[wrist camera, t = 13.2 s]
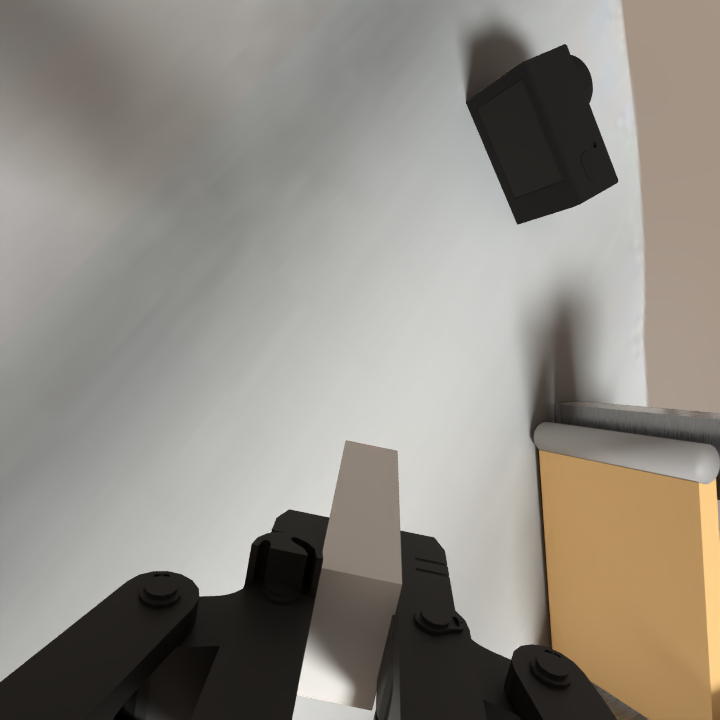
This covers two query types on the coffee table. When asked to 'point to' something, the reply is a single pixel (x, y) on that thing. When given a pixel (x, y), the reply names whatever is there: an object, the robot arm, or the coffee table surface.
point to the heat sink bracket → (650, 423)
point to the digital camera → (543, 135)
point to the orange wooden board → (634, 565)
